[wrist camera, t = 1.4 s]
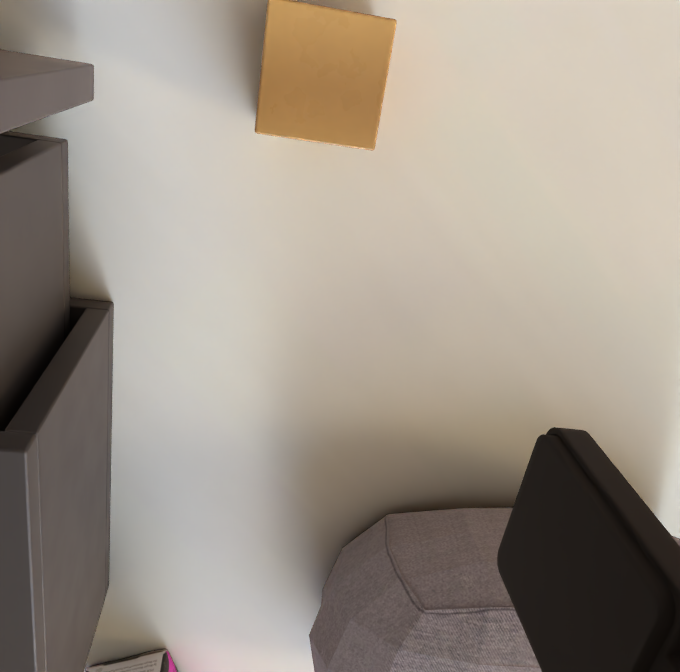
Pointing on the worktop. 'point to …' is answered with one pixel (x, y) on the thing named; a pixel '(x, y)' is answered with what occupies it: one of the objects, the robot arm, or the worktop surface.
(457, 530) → the soft grey pack
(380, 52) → the block
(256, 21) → the worktop surface
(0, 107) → the grey drawer with handle
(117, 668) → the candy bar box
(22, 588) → the grey open box
